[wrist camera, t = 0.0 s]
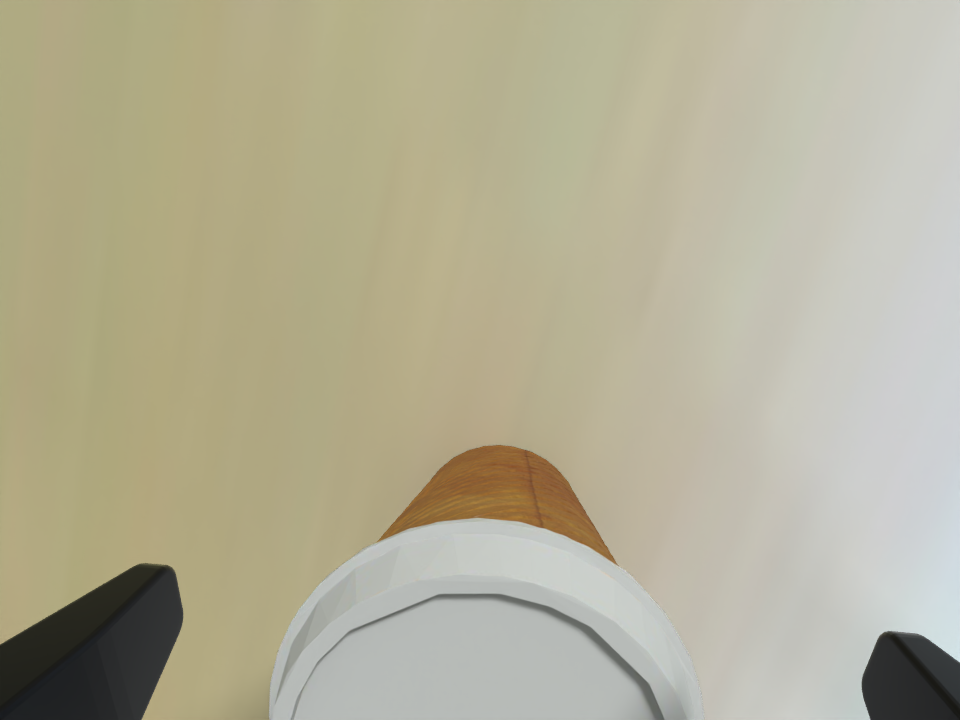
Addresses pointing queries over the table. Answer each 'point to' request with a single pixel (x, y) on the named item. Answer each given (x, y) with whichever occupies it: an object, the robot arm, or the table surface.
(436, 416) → the table surface
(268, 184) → the table surface
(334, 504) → the table surface
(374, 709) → the disposable coffee cup
